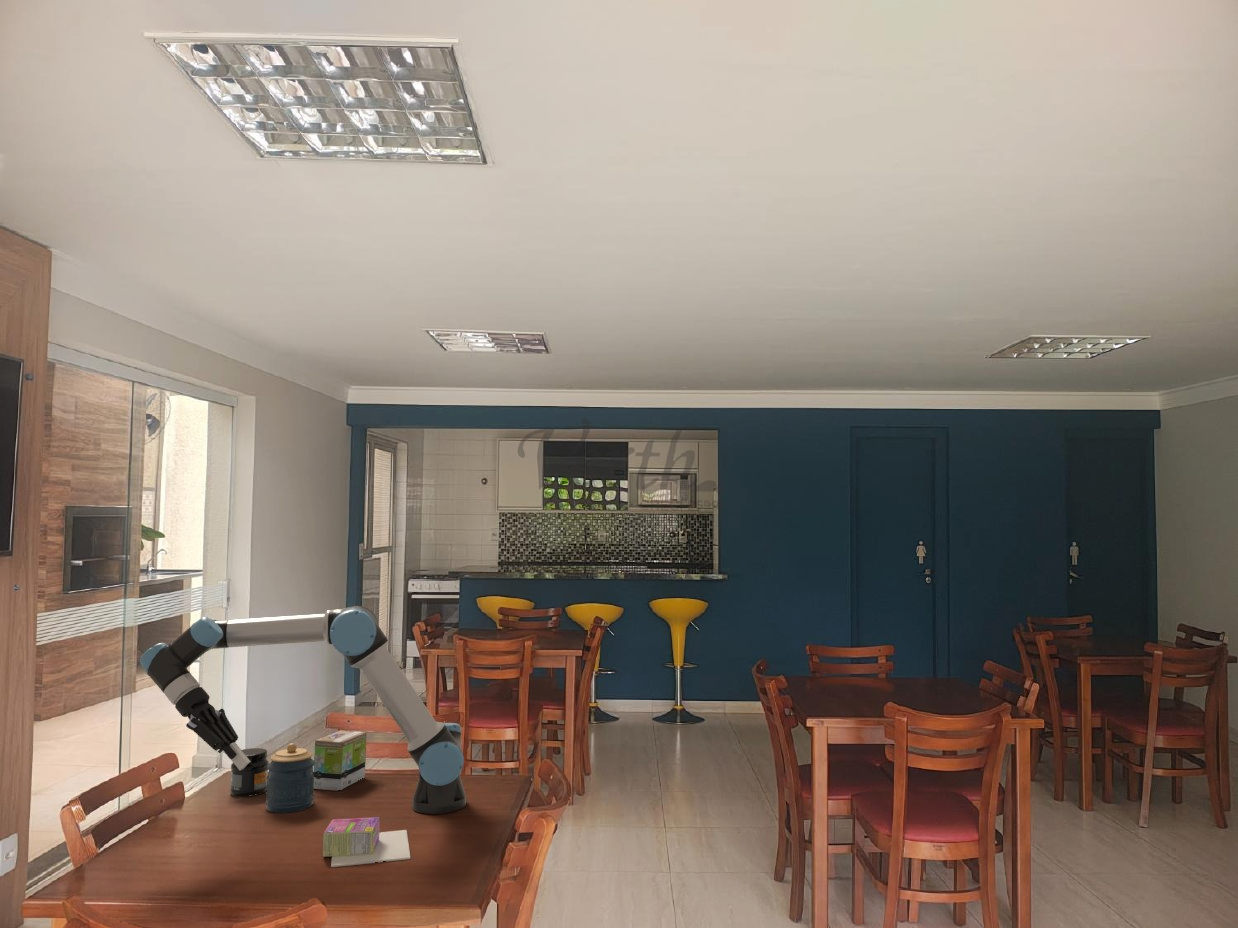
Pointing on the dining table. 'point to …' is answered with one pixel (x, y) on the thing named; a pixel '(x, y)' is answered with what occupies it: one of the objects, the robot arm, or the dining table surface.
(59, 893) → the dining table surface
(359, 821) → the box
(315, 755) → the tea box
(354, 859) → the mat
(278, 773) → the canister
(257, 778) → the supplement container
